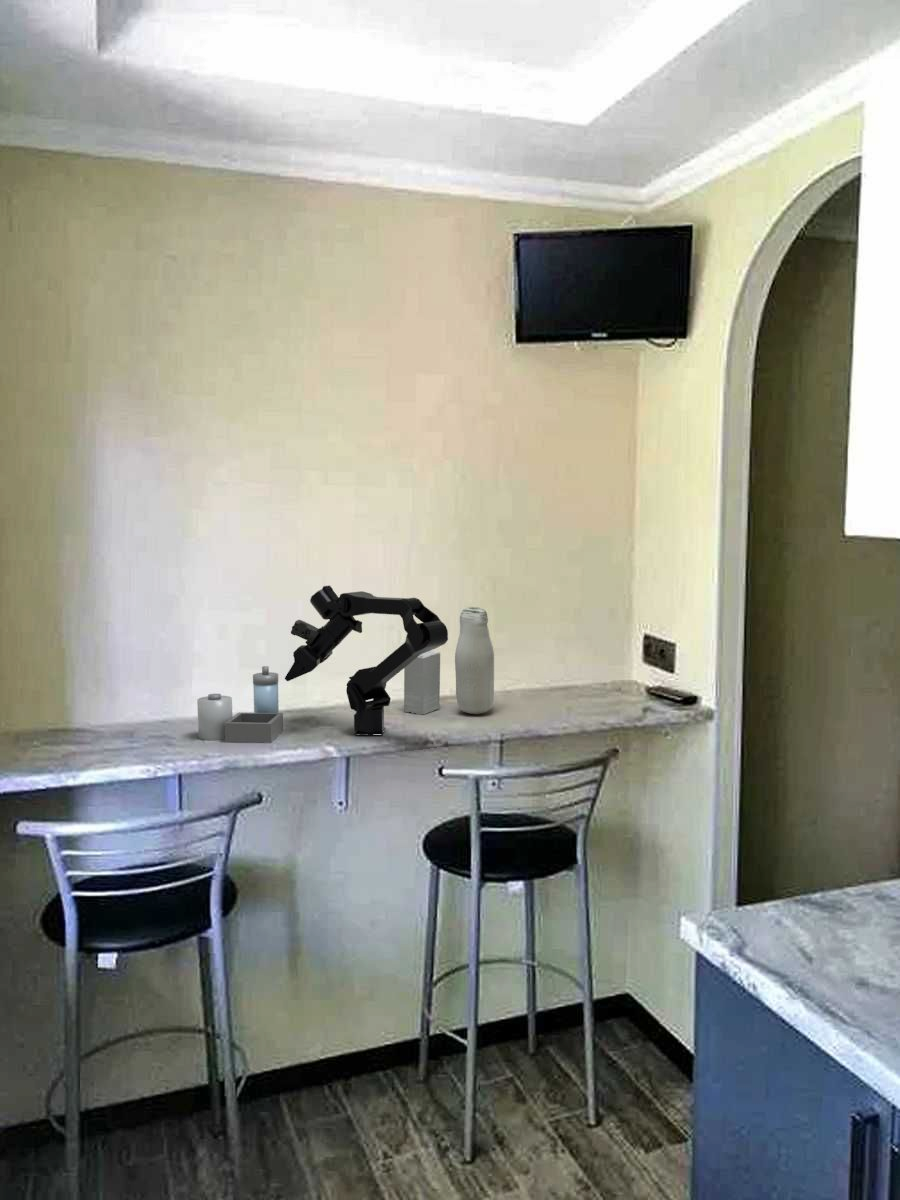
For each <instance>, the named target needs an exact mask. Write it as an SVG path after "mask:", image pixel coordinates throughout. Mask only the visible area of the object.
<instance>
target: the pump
mask: <svg viewBox="0 0 900 1200" xmlns="http://www.w3.org/2000/svg"><path fill="white" fill-rule="evenodd" d="M269 668H270V667H269V666H268V665H264V666H261V672H257V673H253V674H252V684H253V713H280V710H279V709H280V708H279V707H280V706H279V702H280V701H279V673H277V672H270V671H269Z"/></svg>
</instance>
